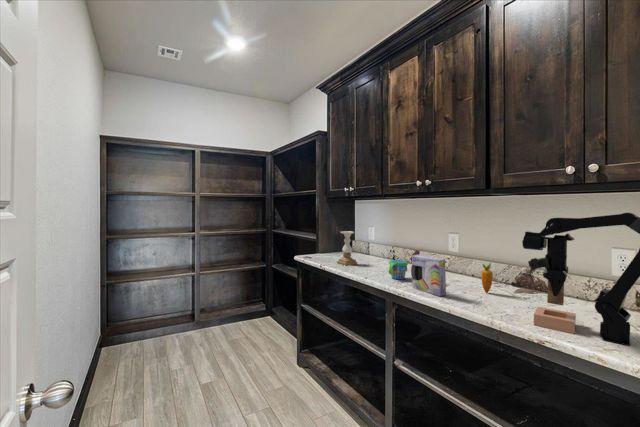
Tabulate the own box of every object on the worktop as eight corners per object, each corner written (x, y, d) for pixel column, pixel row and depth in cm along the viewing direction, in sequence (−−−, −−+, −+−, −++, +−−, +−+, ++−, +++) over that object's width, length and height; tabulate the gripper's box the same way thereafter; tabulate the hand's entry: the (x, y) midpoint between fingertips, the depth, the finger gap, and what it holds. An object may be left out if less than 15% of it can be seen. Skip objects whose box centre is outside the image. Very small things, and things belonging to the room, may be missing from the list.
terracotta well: (575, 324, 114) (575, 313, 114) (574, 333, 105) (574, 322, 105) (537, 316, 121) (537, 306, 121) (533, 325, 113) (533, 314, 113)
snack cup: (399, 275, 192) (400, 258, 192) (413, 278, 184) (414, 261, 183) (382, 278, 183) (382, 261, 183) (395, 282, 175) (396, 264, 174)
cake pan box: (410, 287, 163) (410, 254, 163) (417, 286, 166) (417, 253, 165) (439, 297, 146) (439, 260, 146) (446, 296, 149) (447, 259, 148)
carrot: (480, 293, 153) (481, 263, 153) (481, 291, 158) (482, 261, 157) (491, 295, 151) (492, 264, 150) (492, 292, 155) (493, 262, 154)
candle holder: (357, 264, 226) (357, 232, 225) (345, 266, 220) (345, 232, 219) (348, 262, 235) (348, 230, 235) (336, 263, 229) (337, 231, 229)
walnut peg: (563, 302, 113) (564, 275, 113) (562, 305, 110) (563, 277, 110) (548, 300, 116) (549, 273, 116) (547, 302, 113) (547, 275, 113)
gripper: (533, 247, 125) (532, 285, 125) (526, 252, 111) (525, 295, 111) (568, 250, 118) (567, 291, 118) (566, 255, 103) (565, 302, 104)
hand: (555, 294), depth 113 cm, fingers closed on walnut peg, 4 cm apart
